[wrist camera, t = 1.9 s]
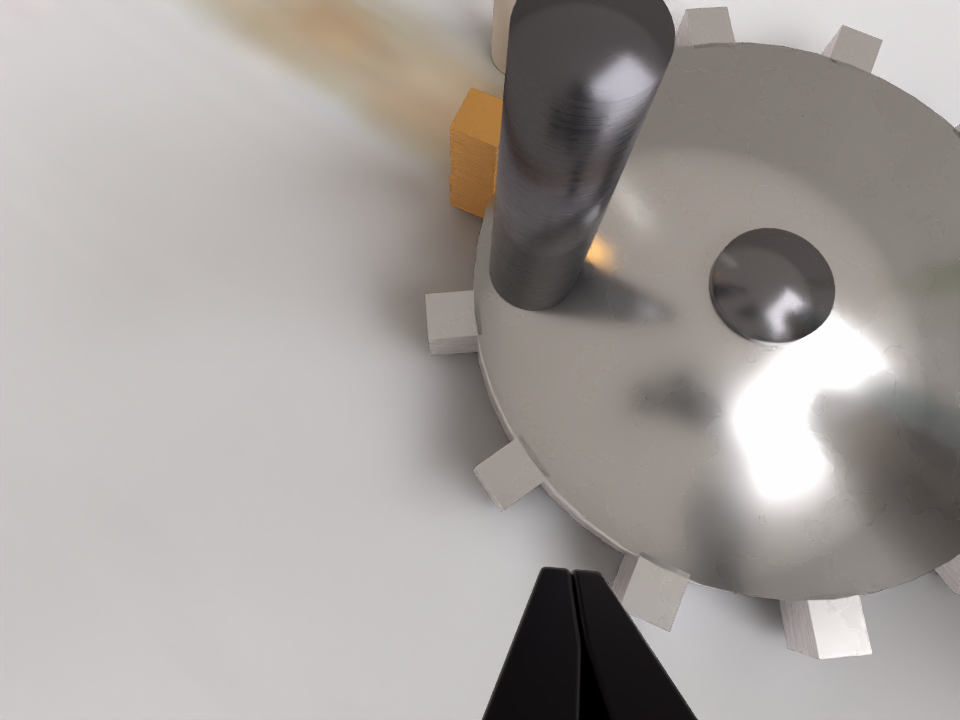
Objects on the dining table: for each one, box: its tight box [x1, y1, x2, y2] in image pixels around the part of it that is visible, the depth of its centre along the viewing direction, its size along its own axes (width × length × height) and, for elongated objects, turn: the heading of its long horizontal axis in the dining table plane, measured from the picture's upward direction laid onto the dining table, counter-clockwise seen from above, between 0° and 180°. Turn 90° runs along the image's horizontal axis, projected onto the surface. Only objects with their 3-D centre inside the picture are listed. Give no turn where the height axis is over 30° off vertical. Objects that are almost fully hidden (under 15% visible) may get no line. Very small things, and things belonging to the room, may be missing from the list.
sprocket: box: [425, 0, 960, 659], centre depth 18 cm, size 23×23×13 cm
